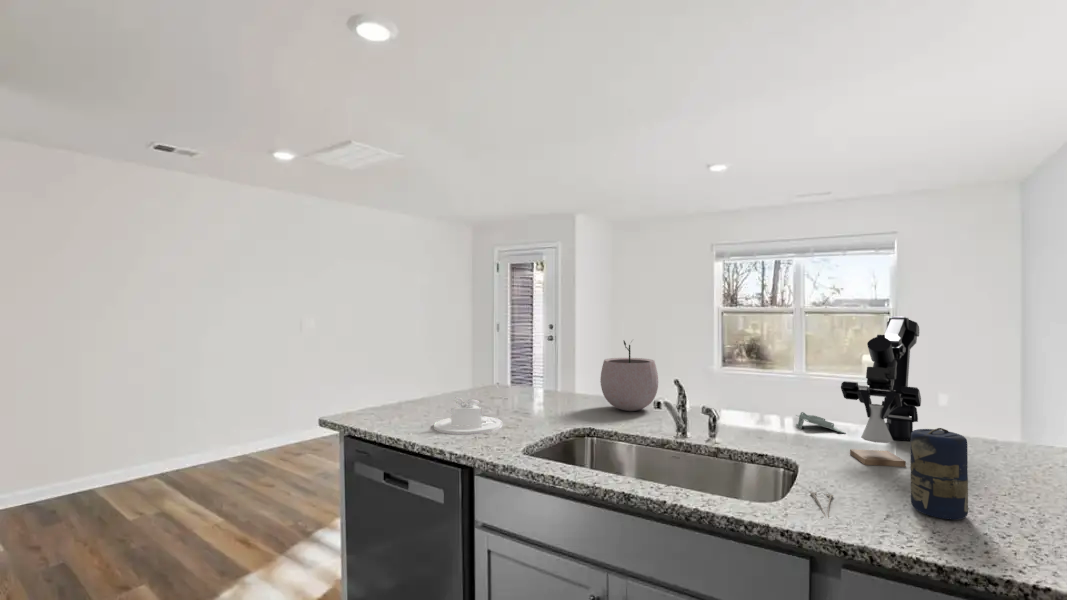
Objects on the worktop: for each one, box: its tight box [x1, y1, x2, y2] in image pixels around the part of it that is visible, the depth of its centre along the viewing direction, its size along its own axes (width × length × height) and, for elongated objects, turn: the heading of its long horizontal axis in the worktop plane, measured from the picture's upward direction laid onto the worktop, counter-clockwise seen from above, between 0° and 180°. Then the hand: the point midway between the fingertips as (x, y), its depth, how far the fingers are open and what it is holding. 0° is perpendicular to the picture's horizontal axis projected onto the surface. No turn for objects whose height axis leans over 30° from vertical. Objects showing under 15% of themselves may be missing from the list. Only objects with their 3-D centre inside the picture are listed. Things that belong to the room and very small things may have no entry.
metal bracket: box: [795, 411, 847, 435], centre depth 184 cm, size 14×6×15 cm
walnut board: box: [849, 448, 907, 468], centre depth 146 cm, size 10×10×2 cm
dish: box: [433, 396, 503, 435], centre depth 190 cm, size 25×25×11 cm
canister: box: [909, 427, 969, 520], centre depth 109 cm, size 10×10×18 cm
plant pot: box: [599, 339, 659, 412], centre depth 217 cm, size 24×24×30 cm
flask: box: [860, 403, 894, 444], centre depth 146 cm, size 7×7×10 cm
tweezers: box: [809, 491, 834, 520], centre depth 112 cm, size 17×5×2 cm, turn 155°
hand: (875, 417), depth 145 cm, fingers closed on flask, 3 cm apart
